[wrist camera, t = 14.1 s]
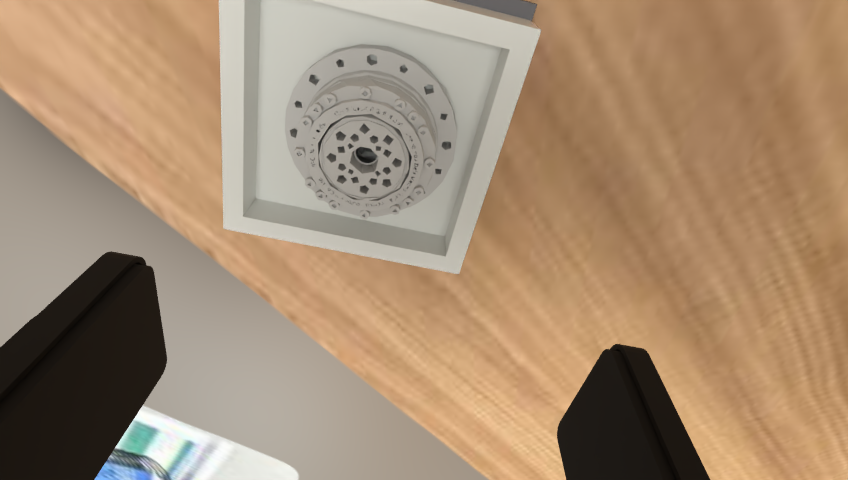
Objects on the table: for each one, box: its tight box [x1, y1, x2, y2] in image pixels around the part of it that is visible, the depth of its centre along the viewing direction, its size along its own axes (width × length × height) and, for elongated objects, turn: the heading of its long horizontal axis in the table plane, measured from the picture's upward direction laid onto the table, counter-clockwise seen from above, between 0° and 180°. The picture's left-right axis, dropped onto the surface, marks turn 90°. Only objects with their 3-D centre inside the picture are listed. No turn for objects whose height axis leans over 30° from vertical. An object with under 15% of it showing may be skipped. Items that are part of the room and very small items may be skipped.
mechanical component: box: [285, 44, 457, 219], centre depth 26 cm, size 10×4×10 cm
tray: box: [219, 0, 541, 274], centre depth 27 cm, size 15×15×3 cm
